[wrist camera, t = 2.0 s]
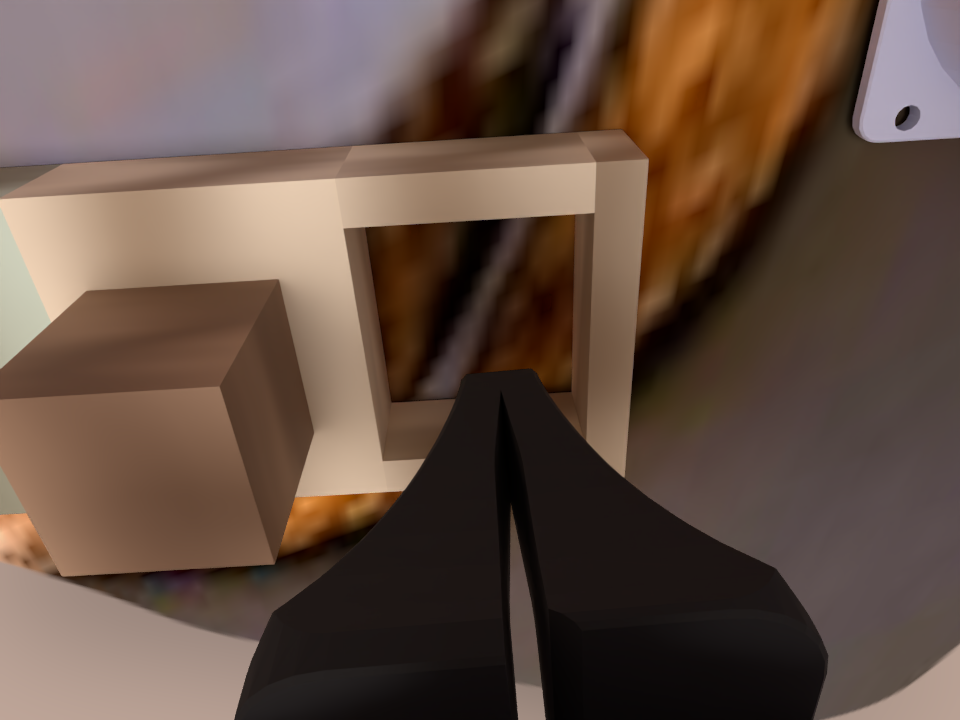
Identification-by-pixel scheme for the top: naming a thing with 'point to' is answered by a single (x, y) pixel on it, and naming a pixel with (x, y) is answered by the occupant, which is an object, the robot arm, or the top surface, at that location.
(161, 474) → the walnut block
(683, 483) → the top surface
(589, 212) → the frame
